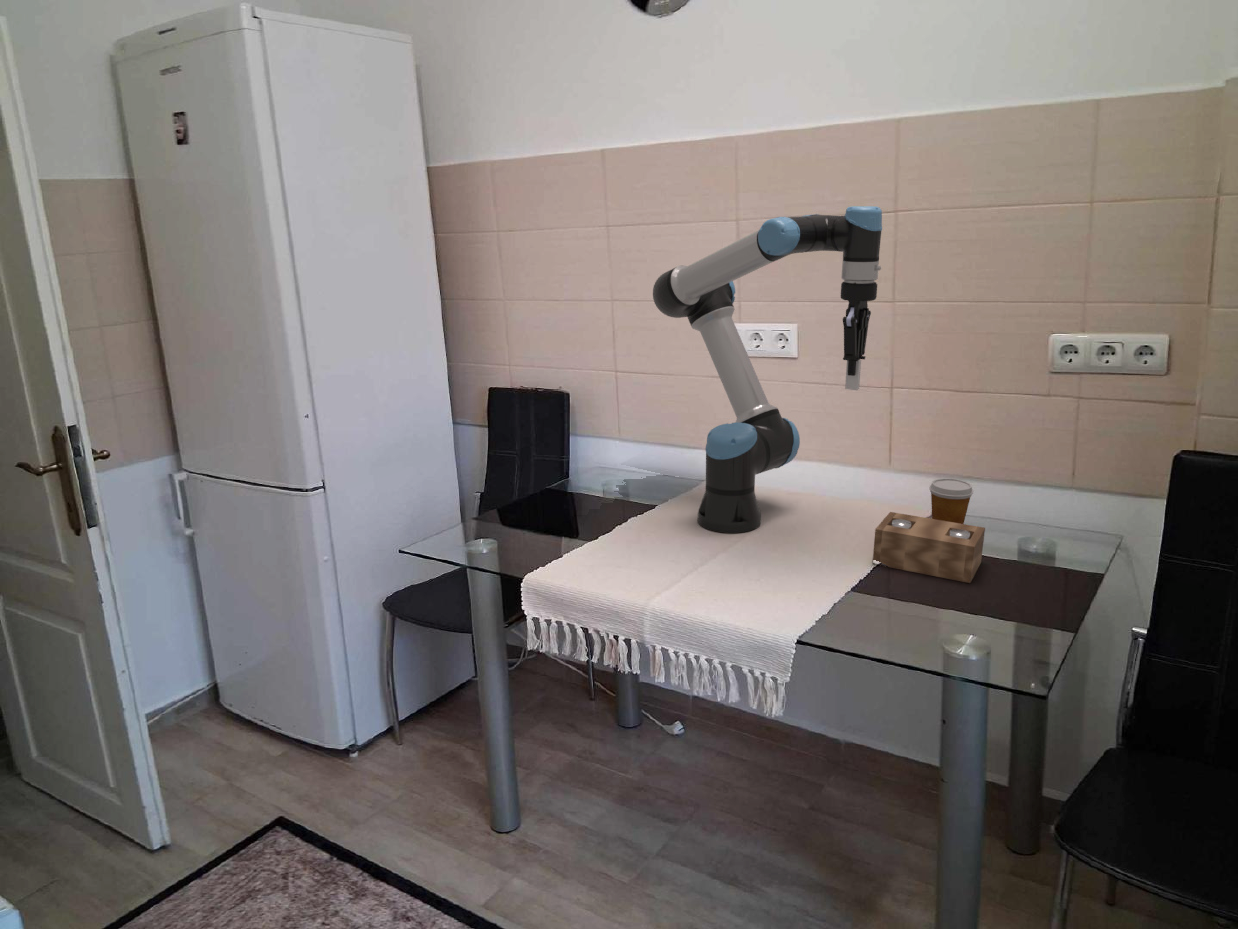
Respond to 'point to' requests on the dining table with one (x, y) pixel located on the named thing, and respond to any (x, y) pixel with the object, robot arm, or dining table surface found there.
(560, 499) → the dining table surface
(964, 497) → the disposable coffee cup
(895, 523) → the pin
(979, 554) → the socket block
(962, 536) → the pin
